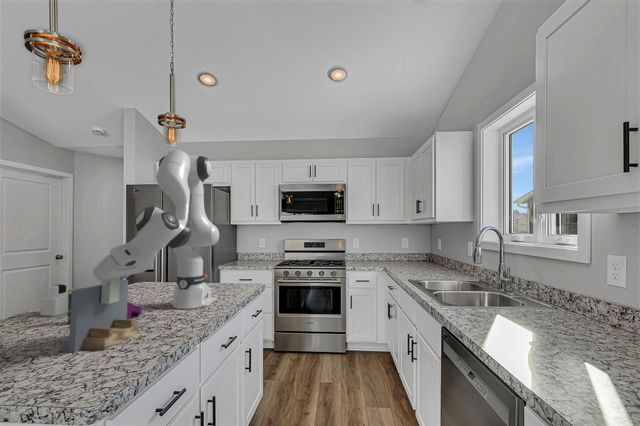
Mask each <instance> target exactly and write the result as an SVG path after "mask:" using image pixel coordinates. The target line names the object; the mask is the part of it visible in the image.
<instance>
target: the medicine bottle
mask: <svg viewBox="0 0 640 426" xmlns="http://www.w3.org/2000/svg"><path fill="white" fill-rule="evenodd" d="M46 295H47V296H46V297H45V296H44V297H41V300H40V316H44V317H45V316H47V317H50V316H51V317H56V316H60V315H63V314H64V315H65V314H68V294H67V285H66V284H53V285H49V286H48V287H47V294H46Z"/></svg>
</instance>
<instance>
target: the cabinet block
mask: <svg viewBox="0 0 640 426" xmlns="http://www.w3.org/2000/svg"><path fill="white" fill-rule="evenodd" d="M110 281H111V282H110V283H109V284H108V285H105V286H103V285H102V295H101V303H105V304H110V303H114V302H117V301H119V293H120V277H117V278H112V279H110Z"/></svg>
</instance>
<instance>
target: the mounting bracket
mask: <svg viewBox="0 0 640 426" xmlns="http://www.w3.org/2000/svg"><path fill="white" fill-rule="evenodd" d="M142 311H143V307H140V306H138V305H135V304H133V303H130V302H128V301H127V319H131V316H132V315H131V314H138V315H141V313H142ZM138 315H137V316H138Z"/></svg>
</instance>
